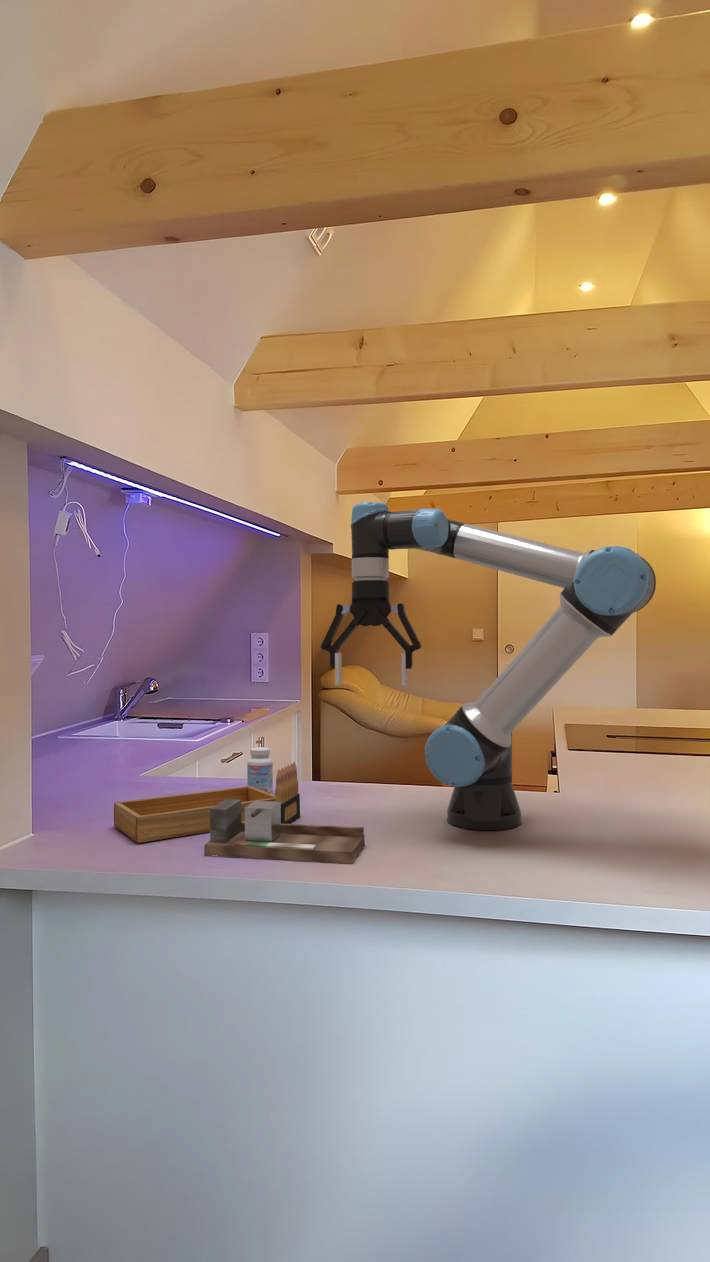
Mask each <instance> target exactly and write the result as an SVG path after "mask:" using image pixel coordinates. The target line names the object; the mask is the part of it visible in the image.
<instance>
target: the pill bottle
mask: <svg viewBox="0 0 710 1262" xmlns="http://www.w3.org/2000/svg"><path fill="white" fill-rule="evenodd" d="M270 749H271V748H269V747H262V746H258V747H252V748H250V749H249V750H250V751H249V752H250V753H249V754H250V756H251V757H250V758H248V760H247V773H246V774H247V777H246V778H247V786H251V787H254V788H257V789H259V790H262V791H265V792H267V793H270V794H273V787H274V786H273V772H274V771H273V766H274V765H273V763H274V761H273V759H272V758H271V757H269V756H270V754H271V753H270V751H271V750H270Z"/></svg>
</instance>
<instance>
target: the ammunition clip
mask: <svg viewBox="0 0 710 1262" xmlns="http://www.w3.org/2000/svg"><path fill="white" fill-rule="evenodd" d="M275 781H276V782H275V789H274V792H275V793H274V795H275V802H281V824H294V822H296V821H297V820H298V819H300V818H301V799H300V797H301V795H300V793H299V779H298V768H297V764H296V762H295V761H293V762H292V763H291V762H290V764H287V765H284V767H281V768H280V769H277V772H276V779H275Z"/></svg>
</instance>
